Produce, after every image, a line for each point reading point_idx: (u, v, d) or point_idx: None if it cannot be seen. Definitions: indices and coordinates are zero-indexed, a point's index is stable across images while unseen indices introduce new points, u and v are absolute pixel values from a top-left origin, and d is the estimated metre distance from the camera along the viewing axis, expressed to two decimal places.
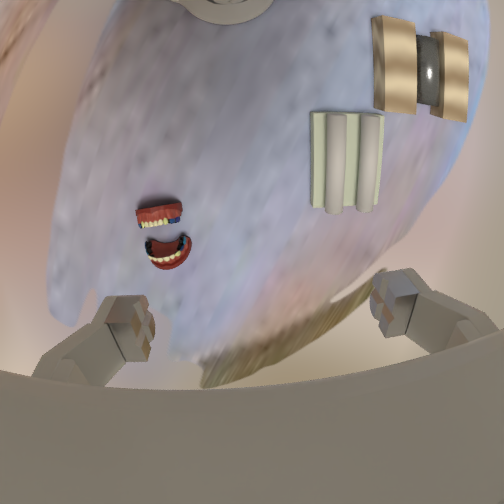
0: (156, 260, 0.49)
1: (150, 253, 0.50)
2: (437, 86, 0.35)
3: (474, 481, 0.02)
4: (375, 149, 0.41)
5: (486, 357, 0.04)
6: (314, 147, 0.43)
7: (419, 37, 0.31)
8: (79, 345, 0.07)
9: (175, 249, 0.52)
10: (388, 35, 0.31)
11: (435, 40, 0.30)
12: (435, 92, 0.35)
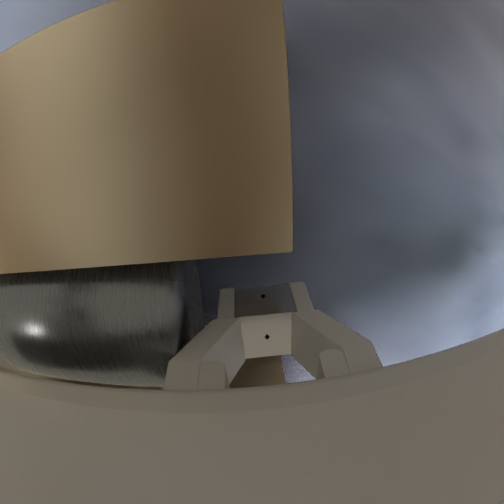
0: None
1: None
2: None
3: (474, 481, 0.02)
4: None
5: (486, 357, 0.04)
6: None
7: None
8: (216, 345, 0.07)
9: None
10: (112, 33, 0.04)
11: None
12: None
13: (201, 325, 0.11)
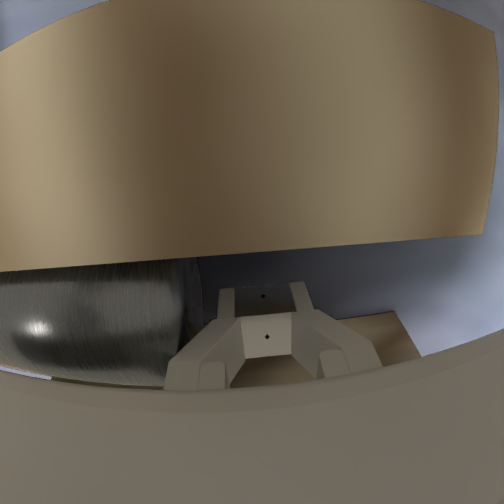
0: None
1: None
2: None
3: (474, 481, 0.02)
4: None
5: (486, 357, 0.04)
6: None
7: (154, 262, 0.07)
8: (216, 345, 0.07)
9: None
10: (397, 22, 0.04)
11: None
12: None
13: (201, 324, 0.11)
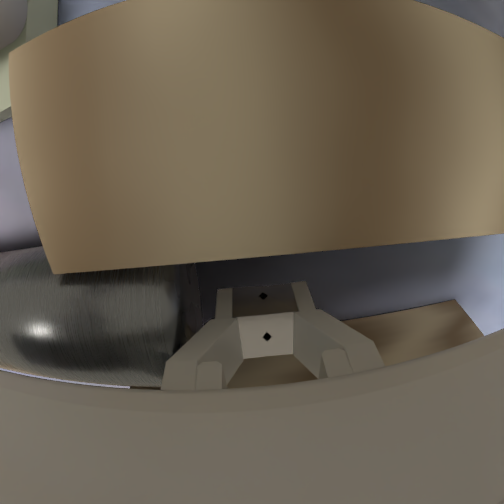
0: None
1: None
2: None
3: (474, 481, 0.02)
4: None
5: (486, 357, 0.04)
6: None
7: None
8: (213, 345, 0.07)
9: None
10: None
11: (163, 371, 0.07)
12: None
13: (199, 325, 0.11)
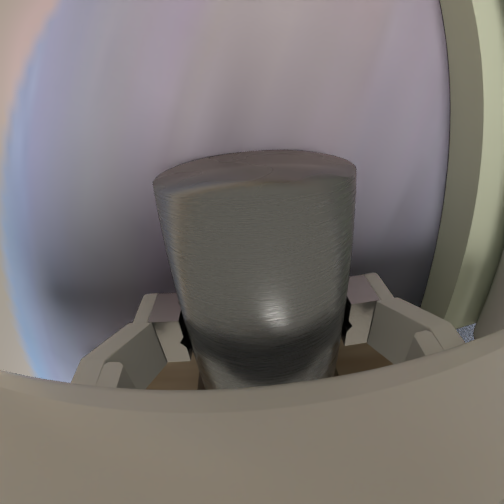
0: None
1: None
2: (231, 342, 0.07)
3: (474, 481, 0.02)
4: None
5: (486, 357, 0.04)
6: None
7: None
8: (123, 347, 0.07)
9: None
10: None
11: None
12: (251, 310, 0.06)
13: None
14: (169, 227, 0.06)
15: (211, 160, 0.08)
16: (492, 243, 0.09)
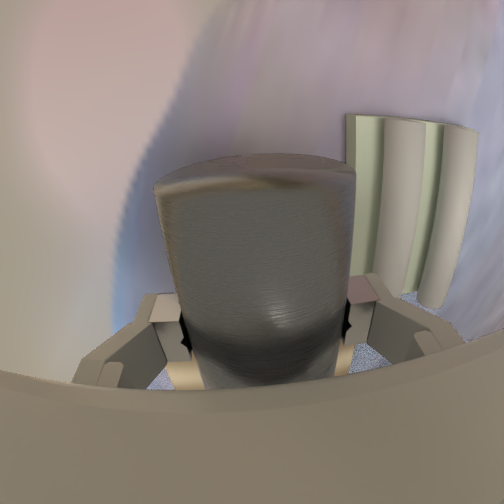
0: None
1: None
2: (231, 346, 0.07)
3: (474, 481, 0.02)
4: (395, 269, 0.21)
5: (486, 357, 0.04)
6: None
7: None
8: (124, 347, 0.07)
9: None
10: None
11: None
12: (251, 314, 0.06)
13: None
14: (170, 232, 0.06)
15: (212, 164, 0.08)
16: (368, 258, 0.24)
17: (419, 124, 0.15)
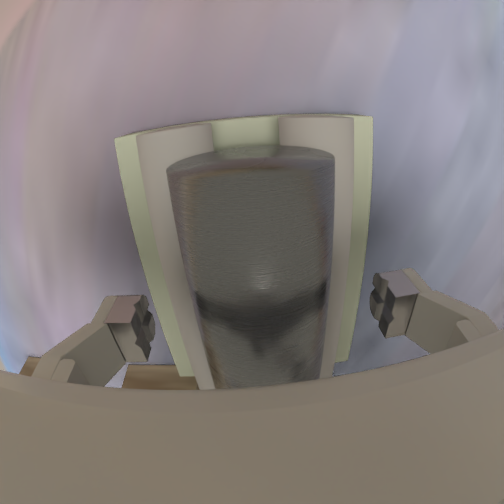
0: None
1: None
2: (227, 304, 0.08)
3: (474, 481, 0.02)
4: (202, 359, 0.14)
5: (486, 357, 0.04)
6: (356, 299, 0.17)
7: None
8: (78, 345, 0.07)
9: None
10: None
11: None
12: (244, 273, 0.08)
13: None
14: (179, 205, 0.08)
15: (215, 153, 0.10)
16: None
17: (170, 133, 0.09)
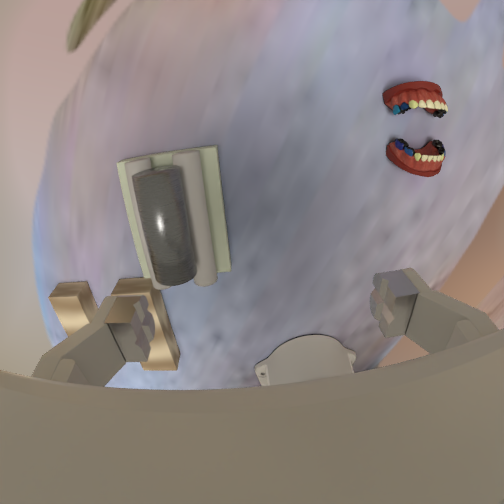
0: (441, 103, 0.26)
1: (442, 109, 0.27)
2: (146, 212, 0.28)
3: (474, 481, 0.02)
4: None
5: (486, 357, 0.04)
6: (225, 232, 0.36)
7: (190, 276, 0.32)
8: (79, 346, 0.07)
9: None
10: (167, 357, 0.43)
11: (166, 283, 0.31)
12: (149, 202, 0.27)
13: None
14: (134, 185, 0.27)
15: (149, 169, 0.29)
16: None
17: (134, 163, 0.29)
